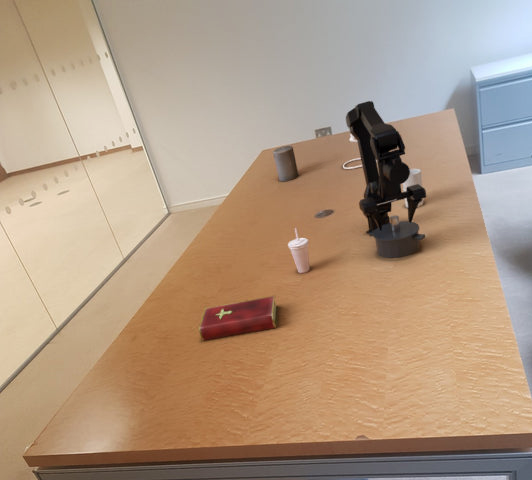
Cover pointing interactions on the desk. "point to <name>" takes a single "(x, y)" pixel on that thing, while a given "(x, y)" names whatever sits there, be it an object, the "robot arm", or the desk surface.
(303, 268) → the smoothie
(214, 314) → the hardcover book
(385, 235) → the lid
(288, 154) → the pillar candle
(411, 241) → the pot
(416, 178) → the mug
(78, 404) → the desk surface
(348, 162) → the earphone
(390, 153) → the robot arm
